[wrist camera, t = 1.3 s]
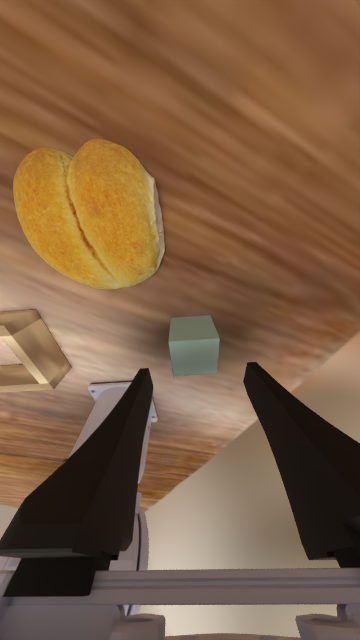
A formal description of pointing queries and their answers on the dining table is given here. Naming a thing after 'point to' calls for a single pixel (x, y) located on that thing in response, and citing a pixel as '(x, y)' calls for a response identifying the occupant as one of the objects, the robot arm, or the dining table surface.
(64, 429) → the dining table surface
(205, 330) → the teal block
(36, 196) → the bread roll
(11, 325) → the organiser frame
